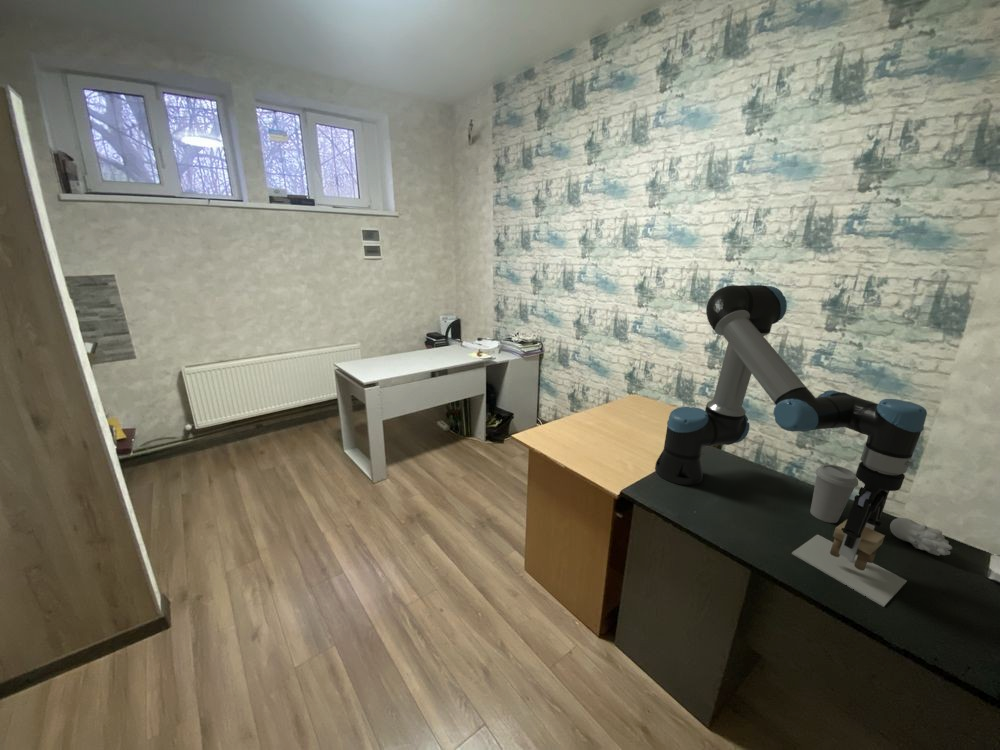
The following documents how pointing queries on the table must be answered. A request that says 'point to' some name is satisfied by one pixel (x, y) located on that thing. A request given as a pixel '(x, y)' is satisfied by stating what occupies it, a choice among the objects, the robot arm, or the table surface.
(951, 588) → the table surface
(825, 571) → the mat
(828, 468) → the coffee cup
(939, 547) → the figurine
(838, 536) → the wooden stool
